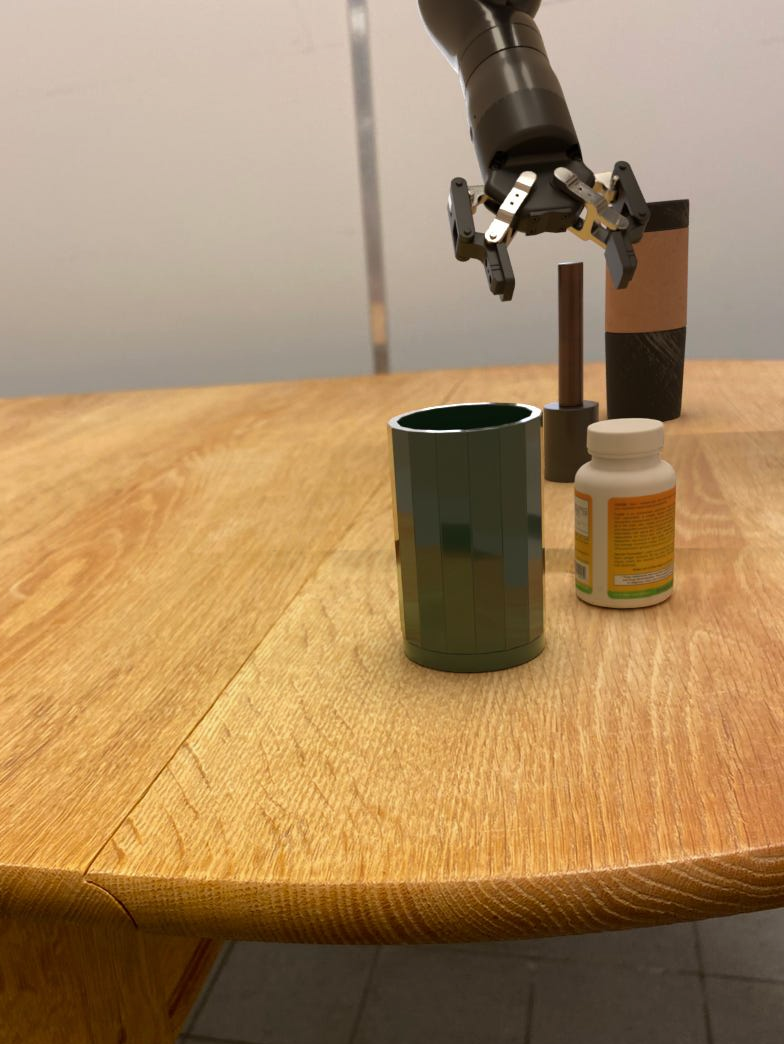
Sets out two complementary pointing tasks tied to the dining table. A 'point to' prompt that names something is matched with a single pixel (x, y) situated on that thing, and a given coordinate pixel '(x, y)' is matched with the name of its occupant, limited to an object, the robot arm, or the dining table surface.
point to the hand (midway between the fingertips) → (567, 287)
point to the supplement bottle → (625, 516)
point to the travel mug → (650, 321)
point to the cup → (469, 534)
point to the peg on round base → (568, 385)
